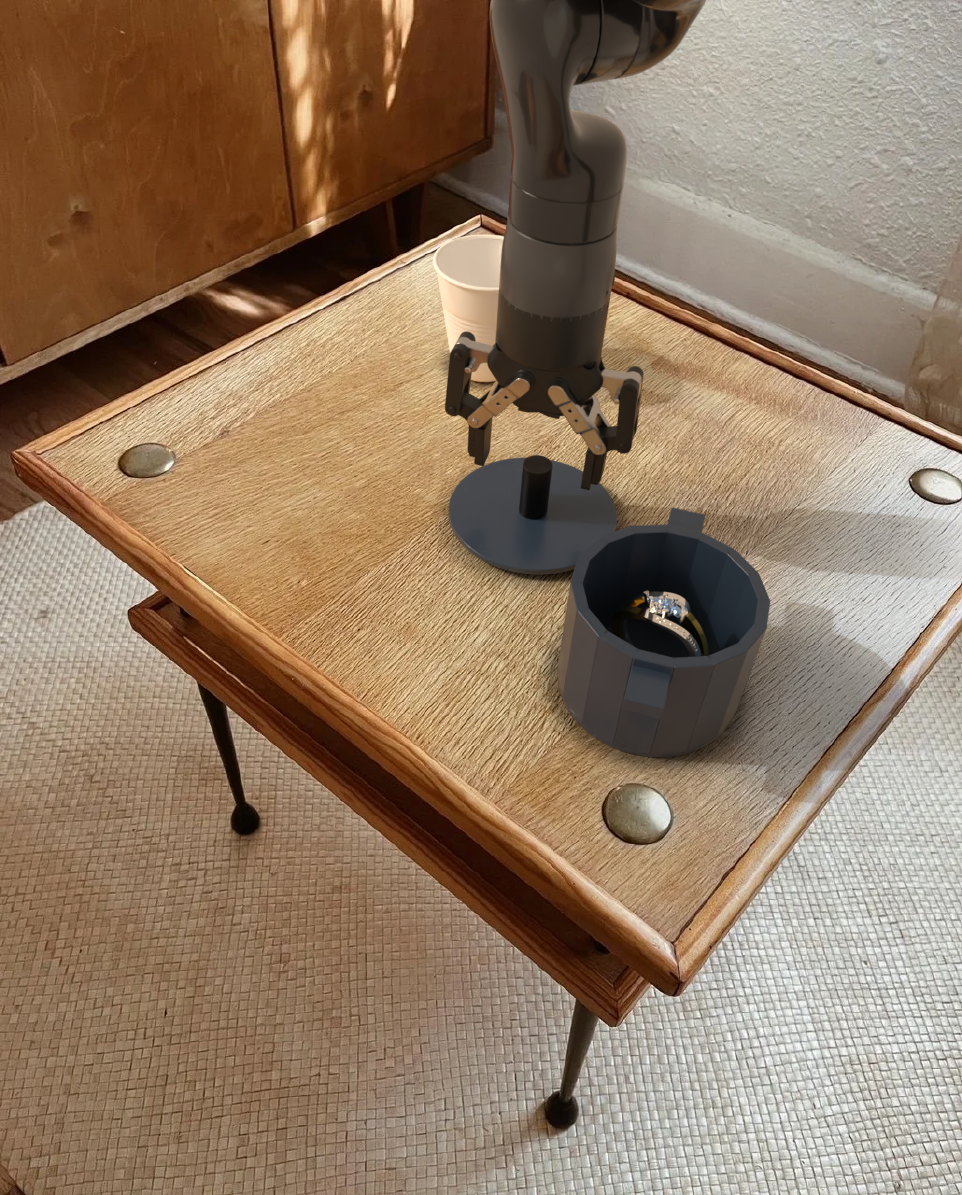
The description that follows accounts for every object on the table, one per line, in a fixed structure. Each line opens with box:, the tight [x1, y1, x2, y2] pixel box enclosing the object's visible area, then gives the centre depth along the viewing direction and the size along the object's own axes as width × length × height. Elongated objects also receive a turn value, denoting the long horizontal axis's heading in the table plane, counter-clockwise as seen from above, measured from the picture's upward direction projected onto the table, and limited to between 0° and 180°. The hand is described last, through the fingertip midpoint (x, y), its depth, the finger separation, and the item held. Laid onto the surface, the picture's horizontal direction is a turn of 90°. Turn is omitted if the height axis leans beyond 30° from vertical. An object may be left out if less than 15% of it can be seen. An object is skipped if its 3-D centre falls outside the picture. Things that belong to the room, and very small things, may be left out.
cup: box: [432, 234, 504, 383], centre depth 95 cm, size 10×10×11 cm
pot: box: [556, 507, 771, 758], centre depth 69 cm, size 13×18×10 cm
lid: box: [448, 454, 618, 575], centre depth 82 cm, size 14×14×6 cm
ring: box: [612, 591, 709, 657], centre depth 69 cm, size 7×3×8 cm, turn 44°
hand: (534, 471), depth 80 cm, fingers open, 8 cm apart
